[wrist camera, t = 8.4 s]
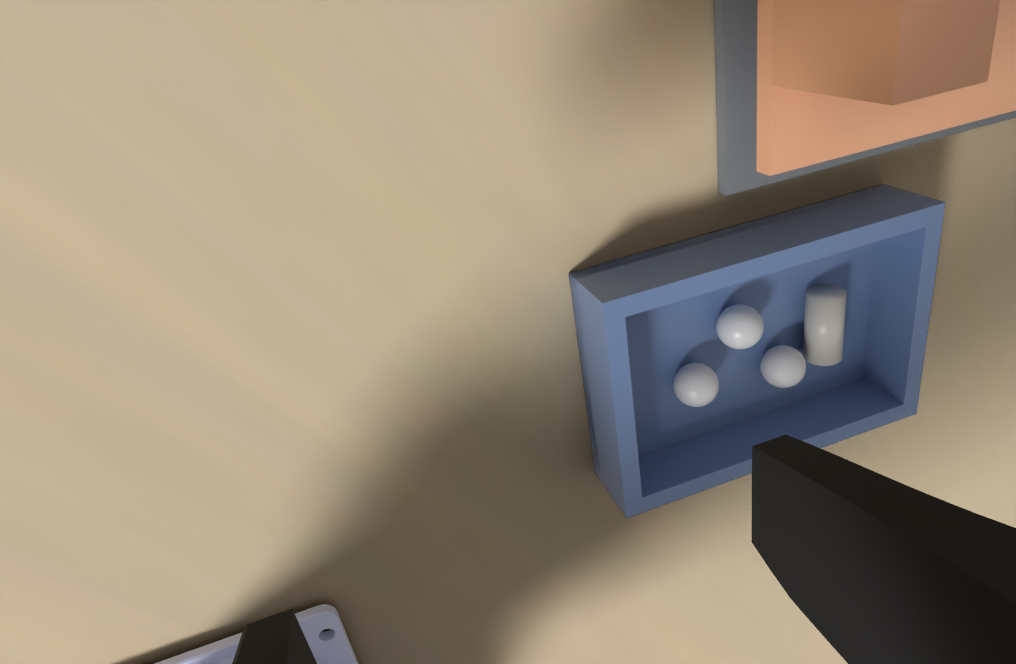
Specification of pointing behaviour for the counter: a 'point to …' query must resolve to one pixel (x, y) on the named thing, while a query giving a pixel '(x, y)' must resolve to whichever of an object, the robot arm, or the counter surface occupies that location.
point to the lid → (876, 73)
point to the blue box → (754, 340)
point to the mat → (740, 105)
